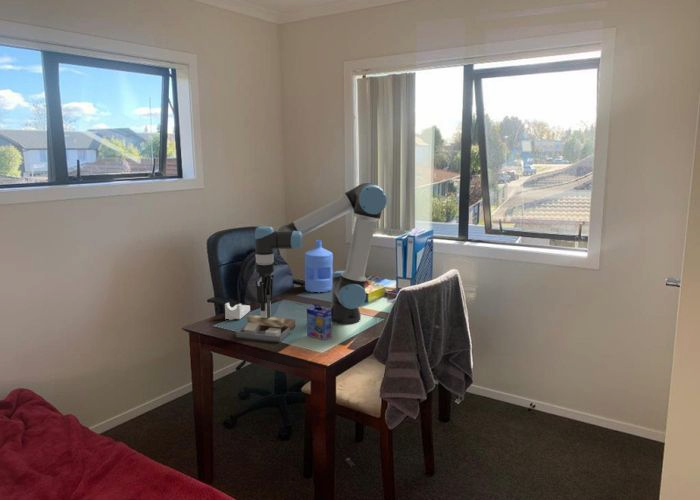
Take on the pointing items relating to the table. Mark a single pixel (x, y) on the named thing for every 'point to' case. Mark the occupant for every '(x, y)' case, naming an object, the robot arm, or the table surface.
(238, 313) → the bracket
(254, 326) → the tile
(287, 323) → the walnut board
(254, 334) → the box
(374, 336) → the table surface
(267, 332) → the tile
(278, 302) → the table surface
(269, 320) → the inverted t-shaped stand
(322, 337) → the ink cartridge box
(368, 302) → the table surface
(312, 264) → the water jug
